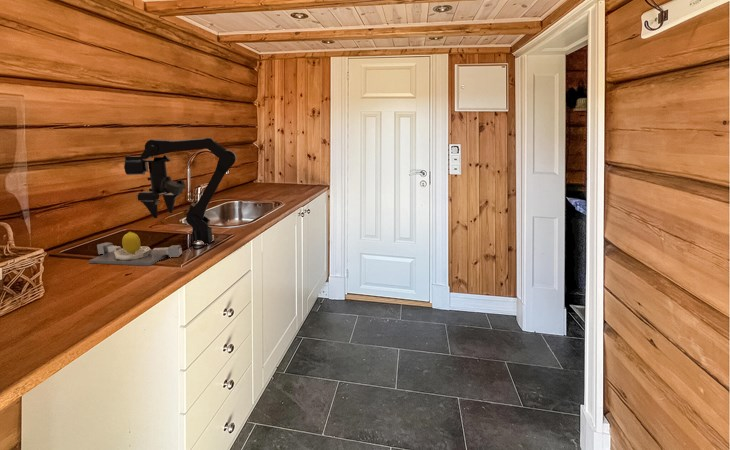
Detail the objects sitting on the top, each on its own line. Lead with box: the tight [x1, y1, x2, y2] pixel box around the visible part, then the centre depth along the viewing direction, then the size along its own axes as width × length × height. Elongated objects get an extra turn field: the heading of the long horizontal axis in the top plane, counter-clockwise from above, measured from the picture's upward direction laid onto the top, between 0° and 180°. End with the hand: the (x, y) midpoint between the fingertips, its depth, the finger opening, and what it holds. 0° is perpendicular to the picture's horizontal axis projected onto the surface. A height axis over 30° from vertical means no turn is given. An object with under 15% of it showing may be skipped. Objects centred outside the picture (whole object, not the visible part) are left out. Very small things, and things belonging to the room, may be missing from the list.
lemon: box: [121, 231, 141, 254], centre depth 140 cm, size 6×6×8 cm
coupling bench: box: [88, 242, 183, 267], centre depth 140 cm, size 31×14×4 cm, turn 82°
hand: (163, 215), depth 152 cm, fingers open, 9 cm apart
